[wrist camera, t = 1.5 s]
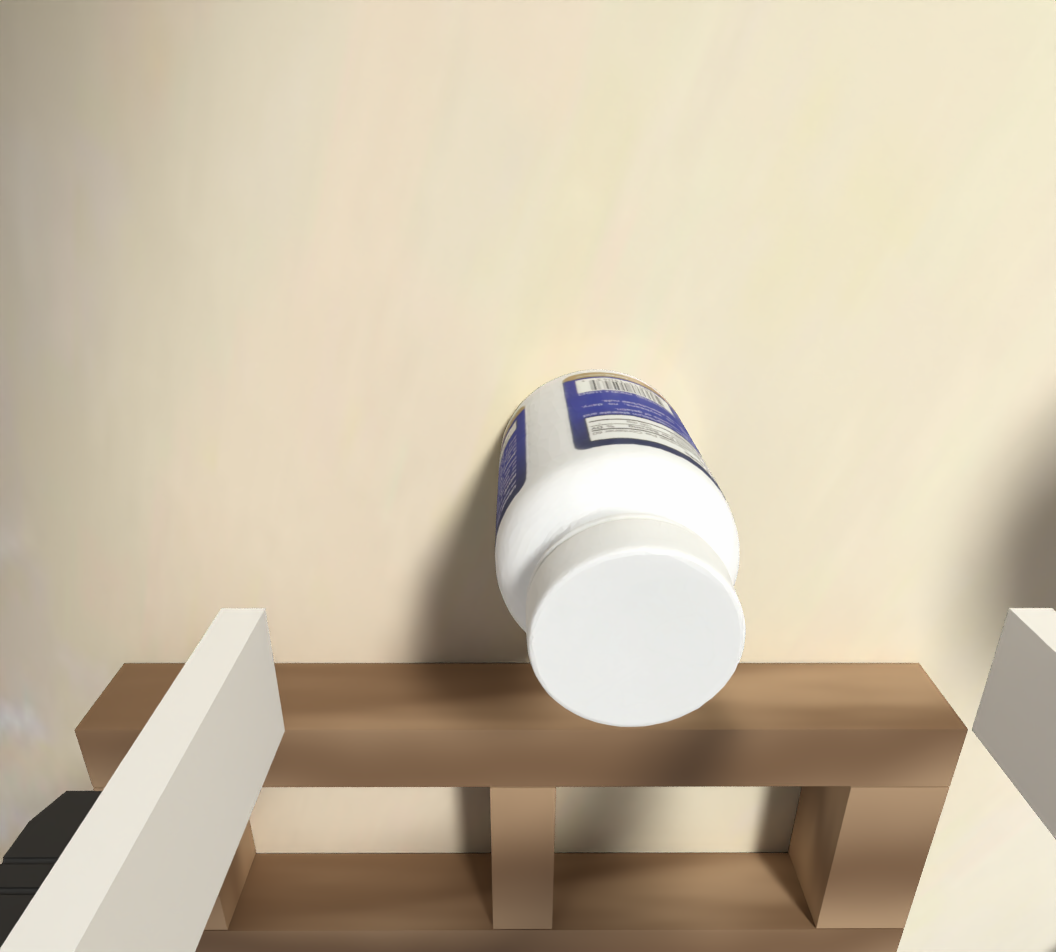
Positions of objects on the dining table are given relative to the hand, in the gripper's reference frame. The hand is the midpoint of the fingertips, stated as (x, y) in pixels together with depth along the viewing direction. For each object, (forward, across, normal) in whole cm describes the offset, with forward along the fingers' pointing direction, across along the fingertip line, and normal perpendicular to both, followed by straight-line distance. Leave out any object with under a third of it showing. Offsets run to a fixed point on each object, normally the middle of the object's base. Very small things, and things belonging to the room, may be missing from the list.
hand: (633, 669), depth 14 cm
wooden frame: (+9, -2, -12) cm, 16 cm away
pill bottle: (+9, 0, +1) cm, 9 cm away
